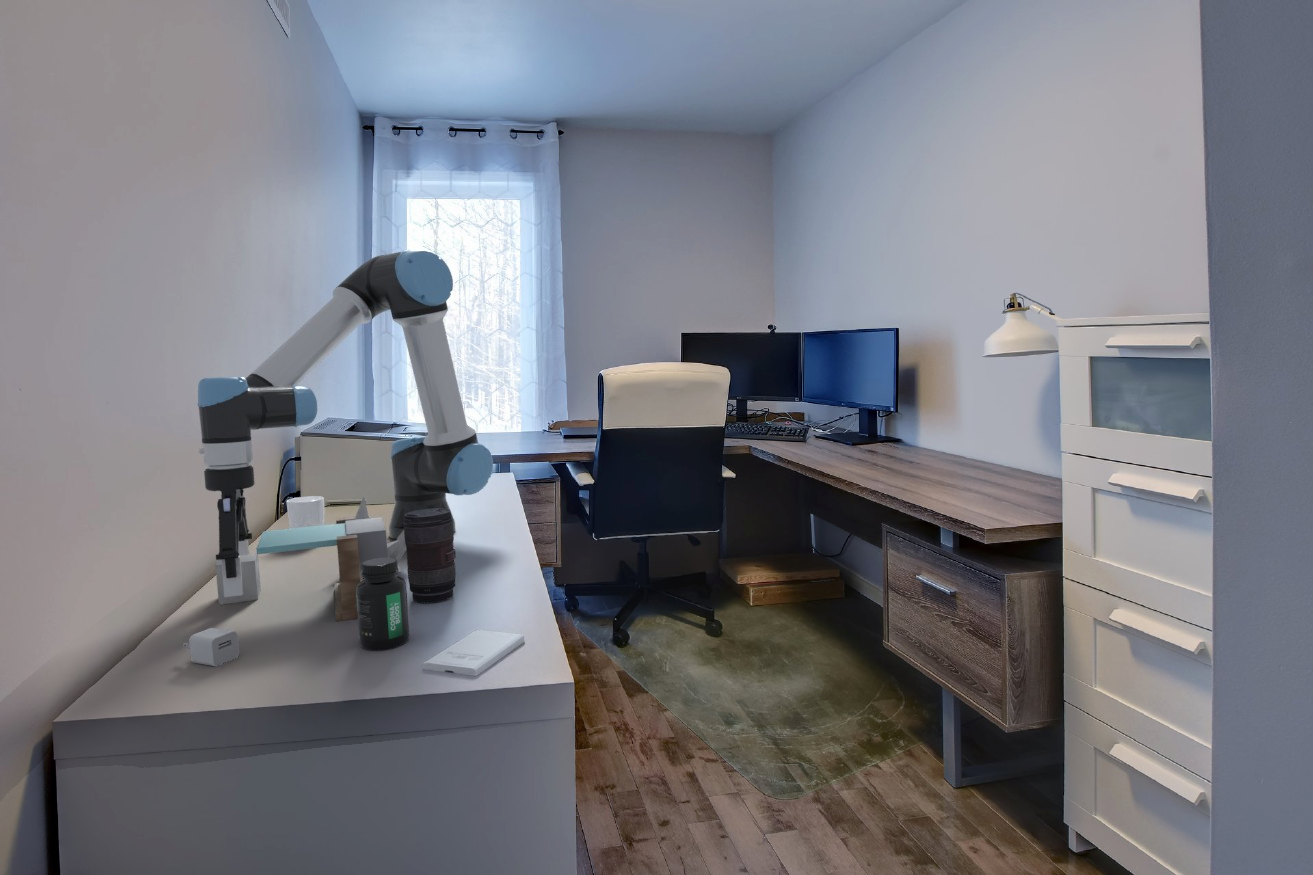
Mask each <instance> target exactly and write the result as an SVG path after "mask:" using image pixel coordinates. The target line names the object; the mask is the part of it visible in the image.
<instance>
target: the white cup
mask: <svg viewBox="0 0 1313 875" xmlns="http://www.w3.org/2000/svg"><path fill="white" fill-rule="evenodd" d="M286 507H287V508H286V509H287V515H288V522H289V523H288V524H289V529H291V528H301V527H311V526H321V525H325V497H323V496H319V495H318V496H317V495H311V496H310V495H309V496H308V495H307V496H301V497H300V496H299V497H294V498H290V499H287V500H286Z"/></svg>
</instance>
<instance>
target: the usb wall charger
mask: <svg viewBox="0 0 1313 875" xmlns="http://www.w3.org/2000/svg"><path fill="white" fill-rule="evenodd" d="M238 635H239V634H238V633H237V631H235V630H229V629H222V628H216V627H210V628H207V629H204V630H202V631H199V632H195V633H193V634H192V635H191V636H190V637H189V640H188V642H189V643H187V642H186V643H184V642H183V648H184V649H187V650H189V651H190V661H191V662H192V663H194V664H199V665H200V664H201V665H206V666H211V667H215V668H216V667H219V666H222V665H224V664H225V663H224V662H226V663H228V662H227V661H229V660H231V661H233V660H232V659H234V658H236V659H238V657H239V655H240V648H239V647H240V646H239V636H238ZM234 660H235V659H234ZM229 662H230V661H229ZM223 663H224V664H223ZM218 665H219V666H218Z"/></svg>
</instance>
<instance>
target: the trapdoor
mask: <svg viewBox="0 0 1313 875" xmlns="http://www.w3.org/2000/svg"><path fill="white" fill-rule="evenodd" d="M383 520H384V519H383V518H382V516H379V517H372V518H370V517H369V519H359V520H349V521H345V522H346V523H340V524H336V523H333V524H332V523H331V524H324V525H321V526H311V527H301V528H291V529H290V528H285V529H284V528H283V529H274V530H264V531H262V533H261V536H260V538H259V541H258V544H257V545H256V548H255V549H256V553H257V555H258V556H259V555H265V554H273V553H275V554H276V553H283V552H291V551H299V550H300V551H301V550H308V549H317V548H318V549H319V548H327V547H337V537H338V536H347V535H357V540H358V554H359V563H363V562H365V561H367V560H371V559H376V558H388V553H387V542H388V541H387V540H388V539H387V529H386V527H385V526H386V525H385V523H384V521H383Z"/></svg>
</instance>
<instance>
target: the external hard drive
mask: <svg viewBox="0 0 1313 875" xmlns="http://www.w3.org/2000/svg"><path fill="white" fill-rule="evenodd" d="M524 643H525V636H524V635H523V634H519V633H511V632H500V631H492V630H482V629H476V630H475V631H473V632H471V633H469V634H468V635H466V636H465V637H463V638H461V639H460V640H458V641H457V642H456V643H453V644H452V645H450V646H448V647H447V648H445V649H444V650H442V651H441V652H439V653H437V654H436V655H434V656H432V657H431V658H429V659H428V660H426V661H424V662H423V663H422V670H427V671H435V672H443V673H446V672H448V673H453V674H459V675H464V676H465V675H466V676H474V677H476V676H478V675H479V674H481V673H482V672H484V671H485V670H486V669H488V668H489V667H491V666H492V665H493V664H494V665H495V663H496V662H498V661H499V660H501V659H503V657H505V656H506V655H508V654H509V653H510V652H512V651H514V650H515V649H516V648H518V647H519V646H520V645H522V644H524Z"/></svg>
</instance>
